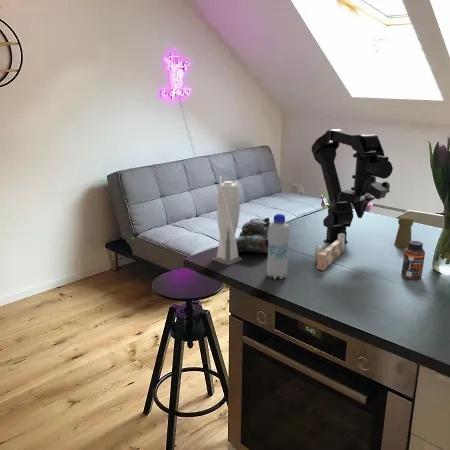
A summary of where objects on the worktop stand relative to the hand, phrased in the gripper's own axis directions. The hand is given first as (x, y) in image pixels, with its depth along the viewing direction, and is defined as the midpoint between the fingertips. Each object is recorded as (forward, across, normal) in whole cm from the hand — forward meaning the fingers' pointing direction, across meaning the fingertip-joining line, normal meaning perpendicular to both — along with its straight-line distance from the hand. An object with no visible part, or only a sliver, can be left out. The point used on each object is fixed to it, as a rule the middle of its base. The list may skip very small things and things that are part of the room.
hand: (359, 217), depth 172 cm
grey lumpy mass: (+13, -27, +25) cm, 39 cm away
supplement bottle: (+13, -4, -23) cm, 27 cm away
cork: (+13, +20, -6) cm, 25 cm away
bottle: (+13, -36, +4) cm, 39 cm away
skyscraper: (+13, -38, +25) cm, 47 cm away
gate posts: (+13, -11, +3) cm, 17 cm away
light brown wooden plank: (+13, -14, +1) cm, 19 cm away
